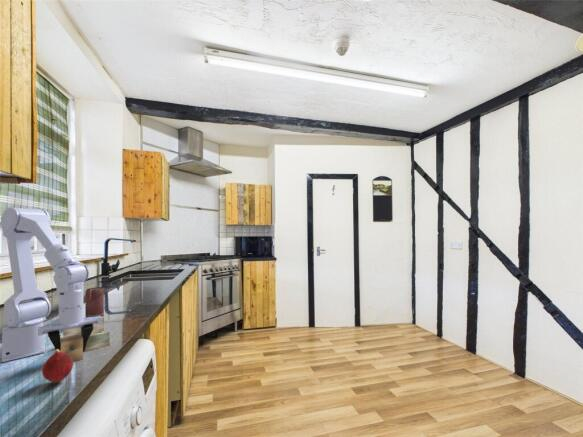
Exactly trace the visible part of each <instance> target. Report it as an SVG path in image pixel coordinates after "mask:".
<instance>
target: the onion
mask: <svg viewBox="0 0 583 437" xmlns="http://www.w3.org/2000/svg"><path fill="white" fill-rule="evenodd" d="M73 365H74V362H73V361H72V359H71V358H70V356H69V355H68V354H66V353H63V352H61V351H60V350H59V349H56V350H55V351H54V353H53V354H52V355H51V356H50V357H49V358H48V359H47V360H46V361H45V362H44V364H43V366H42V370H41V373H42V375H43V378H44V379H45V380H47V381H49V382H51V383H53V384H59V383H60V382H61V381H62V380H64V379H65V378H67V376H68V375H70V373H71V372H72V370H73Z"/></svg>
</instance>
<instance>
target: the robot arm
mask: <svg viewBox="0 0 583 437" xmlns="http://www.w3.org/2000/svg"><path fill="white" fill-rule="evenodd" d="M51 217H52V216H50V214H49V212H48V210H46V209H45V208H38V209H37V208H22V207H21V208H20V207H12V206H10V207H7V208H6V209H5V210H4V211H3V212H2V215H1V216H0V225H1V231H2V236H3V237H5V238H6V242H7V251H8V257H9V258H8V259H9V263H10V270H11V271H10V272H11V276H12V277H11V278H12V279H11V280H12V286H13V291H14V292H13V294H12V295H10V296H9V297H8V298H7V299H6V300H5V301H4V302H3V305H4V306H3V312H2V319H3V321H4V323H5V324H6V325H7V326H5V327H2V331H1V347H0V355H1V363H5V362H9V361H13V360H18V359H22V358H26V357H31V356H36V355H40V354H44V353H46V348H45V343H44V335H46V334H47V336H48V339H49V340H50V341H51V343H52V345H53V347H54V350H55V351H56V349H59V350H60V338H61V333H60V332H62V331H63V330H68V329H73V328H78V327H81V336H82V337H83V353H85V352H86V351H85V348H86V344H87V341H88V339H89V336H90V334H91V333H92V331H93V328H94V327H93V324H101V316H96V317H88V318H85V317H84V288H85V286H84V285H85V284H84V283H85V282H86V281H88V278H89V275H90V271H89V268H88V266H87V264H85V263H83V262H80V261H78V260H76V258H75V257H74V255H73V253H72V252H71V251H70V249H69V248H68V246H67V245H66V244H60V242H59V240H58V237H56V234H55V233H54V230H53V229H52V227H51V225H50V224H51V220H52V218H51ZM33 237H35V238H36V239H37V240H38V242H39V243H40V244H41V246H43V248H44V249H45V251H44V254H43V255H44V257H45V259H46V261H47V262H48V264H49V265H50V267H51V268H52V270H53V271H54V275H53V277H52V278H53V282H54V284H55V285H56V286H55V287H56V292H57V293H58V321H57V322H54V323H50V324H46V325H44V321H46V320H47V317H48V316H49V315H50V314H51V310H52V304H51V302H50V300H49V298H48V295H47V293H46V292H45V291H42V290H40V289H39V288H38V284H37V278H36V273H35V272H36V271H35V265H34V260H33V252H32V245H31V239H32V238H33ZM28 300H29V301H28Z"/></svg>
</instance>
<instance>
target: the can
mask: <svg viewBox="0 0 583 437" xmlns="http://www.w3.org/2000/svg"><path fill="white" fill-rule="evenodd" d="M84 307H85V311H84V313H85V314H84V315H85V317H84V318H88V317H96V316H101V317H104V318H105V289H104V287H103V286H100V287H89V288H87V289H86V290H85V306H84Z"/></svg>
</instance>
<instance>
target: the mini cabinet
mask: <svg viewBox="0 0 583 437" xmlns="http://www.w3.org/2000/svg"><path fill="white" fill-rule="evenodd" d="M60 351H61V352H63V353H66V354H68V355H69V356H70V358H71V359H72V361H73V363H74V362H77V361H81V360H83V359H84V352H83V337H82V336H81V334H76V335H72V336H67V337H63V336H62V337H60Z"/></svg>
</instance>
